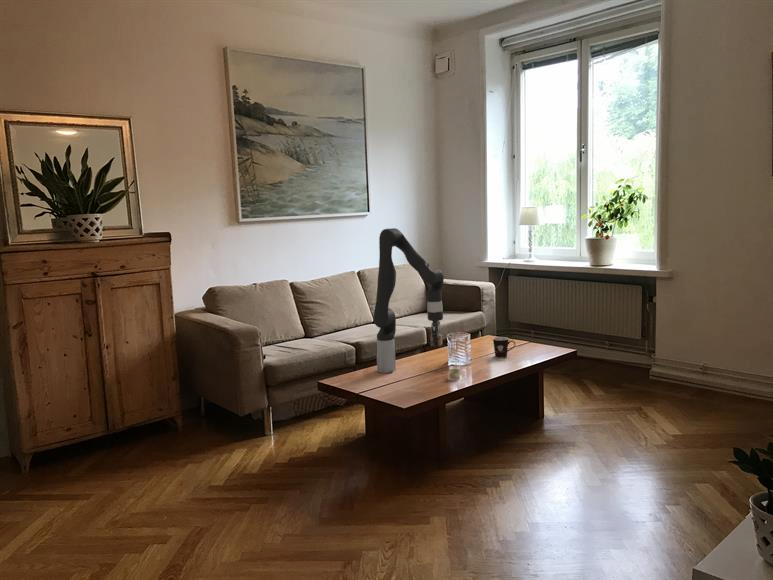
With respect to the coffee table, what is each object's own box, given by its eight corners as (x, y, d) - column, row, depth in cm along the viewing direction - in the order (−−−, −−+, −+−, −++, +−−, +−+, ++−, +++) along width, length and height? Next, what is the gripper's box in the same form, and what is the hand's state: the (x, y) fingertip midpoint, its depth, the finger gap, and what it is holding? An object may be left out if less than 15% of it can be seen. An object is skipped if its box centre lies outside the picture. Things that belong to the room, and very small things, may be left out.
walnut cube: (430, 346, 309) (430, 336, 308) (432, 343, 314) (431, 333, 313) (441, 345, 308) (440, 335, 307) (442, 343, 313) (441, 333, 312)
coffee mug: (490, 356, 353) (490, 339, 352) (498, 353, 360) (498, 336, 358) (508, 359, 346) (508, 341, 344) (516, 356, 352) (516, 338, 351)
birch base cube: (449, 378, 310) (449, 369, 309) (450, 376, 315) (450, 366, 314) (459, 379, 309) (459, 369, 308) (460, 376, 314) (460, 366, 313)
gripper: (429, 307, 316) (431, 341, 318) (425, 312, 302) (427, 347, 305) (444, 307, 315) (445, 340, 317) (440, 312, 301) (442, 347, 303)
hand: (436, 344), depth 311 cm, fingers closed on walnut cube, 5 cm apart
